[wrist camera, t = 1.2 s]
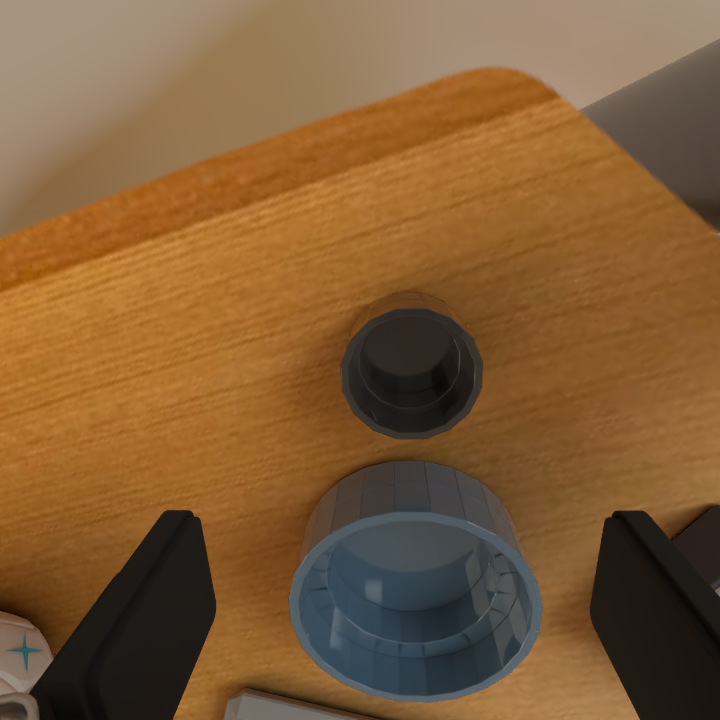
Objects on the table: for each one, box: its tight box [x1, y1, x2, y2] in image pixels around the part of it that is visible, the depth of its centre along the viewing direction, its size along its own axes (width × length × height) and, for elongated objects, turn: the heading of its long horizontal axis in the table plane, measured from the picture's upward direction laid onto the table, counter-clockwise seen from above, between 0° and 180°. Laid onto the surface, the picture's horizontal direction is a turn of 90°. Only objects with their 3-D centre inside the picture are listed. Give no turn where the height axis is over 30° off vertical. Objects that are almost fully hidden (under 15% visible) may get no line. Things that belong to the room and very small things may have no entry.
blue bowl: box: [288, 461, 543, 703], centre depth 28 cm, size 14×14×6 cm
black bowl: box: [340, 292, 483, 439], centre depth 23 cm, size 7×7×4 cm
